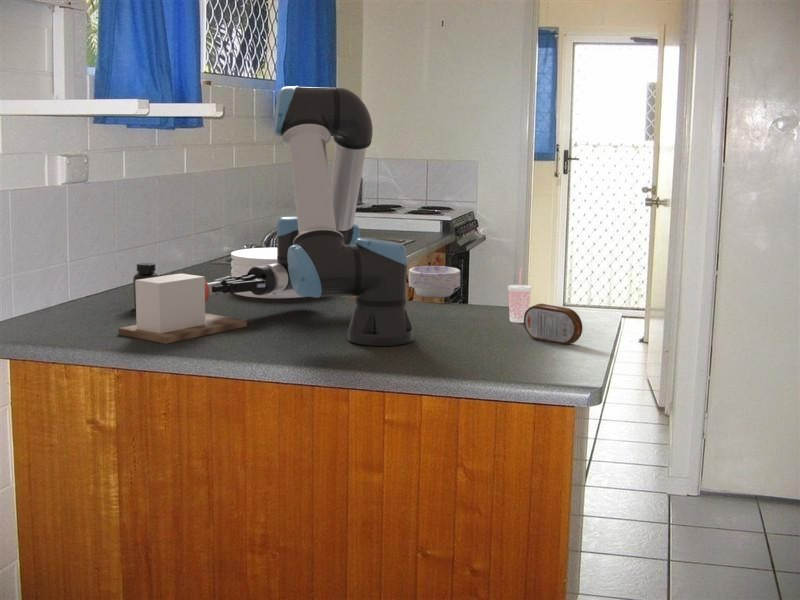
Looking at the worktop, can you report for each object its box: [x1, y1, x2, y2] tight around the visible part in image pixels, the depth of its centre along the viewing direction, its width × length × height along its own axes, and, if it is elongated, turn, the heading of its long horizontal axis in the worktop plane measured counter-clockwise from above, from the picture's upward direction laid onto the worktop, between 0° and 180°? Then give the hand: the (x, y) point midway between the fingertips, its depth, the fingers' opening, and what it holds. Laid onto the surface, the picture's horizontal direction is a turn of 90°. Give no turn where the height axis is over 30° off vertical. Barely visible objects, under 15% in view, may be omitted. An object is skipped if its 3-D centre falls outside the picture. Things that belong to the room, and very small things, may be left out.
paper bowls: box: [408, 265, 461, 299], centre depth 291 cm, size 15×15×8 cm
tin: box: [523, 303, 583, 345], centre depth 230 cm, size 15×3×8 cm, turn 47°
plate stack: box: [230, 247, 303, 299], centre depth 296 cm, size 28×28×12 cm
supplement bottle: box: [132, 262, 160, 310], centre depth 263 cm, size 7×7×12 cm
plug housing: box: [135, 273, 206, 333], centre depth 232 cm, size 14×8×12 cm, turn 145°
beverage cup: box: [507, 266, 533, 324], centre depth 254 cm, size 6×6×14 cm
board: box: [117, 312, 248, 345], centre depth 236 cm, size 26×16×2 cm, turn 145°
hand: (199, 290), depth 239 cm, fingers closed
